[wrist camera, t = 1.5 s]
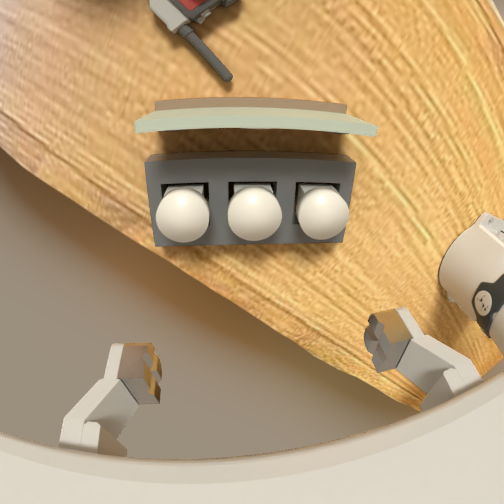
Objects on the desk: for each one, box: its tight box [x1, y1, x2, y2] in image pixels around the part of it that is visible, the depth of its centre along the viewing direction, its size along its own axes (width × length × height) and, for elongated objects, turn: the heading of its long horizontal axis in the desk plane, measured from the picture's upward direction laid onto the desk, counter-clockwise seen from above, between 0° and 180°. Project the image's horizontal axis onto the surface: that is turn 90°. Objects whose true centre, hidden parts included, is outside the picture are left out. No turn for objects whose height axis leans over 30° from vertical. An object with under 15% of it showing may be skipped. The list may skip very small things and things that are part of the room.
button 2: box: [296, 183, 349, 240], centre depth 31 cm, size 5×5×4 cm
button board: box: [144, 151, 356, 247], centre depth 33 cm, size 22×10×3 cm, turn 89°
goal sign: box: [135, 97, 377, 137], centre depth 25 cm, size 20×3×8 cm, turn 89°
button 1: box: [156, 184, 210, 243], centre depth 30 cm, size 5×5×4 cm
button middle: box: [228, 183, 282, 241], centre depth 31 cm, size 5×5×4 cm
